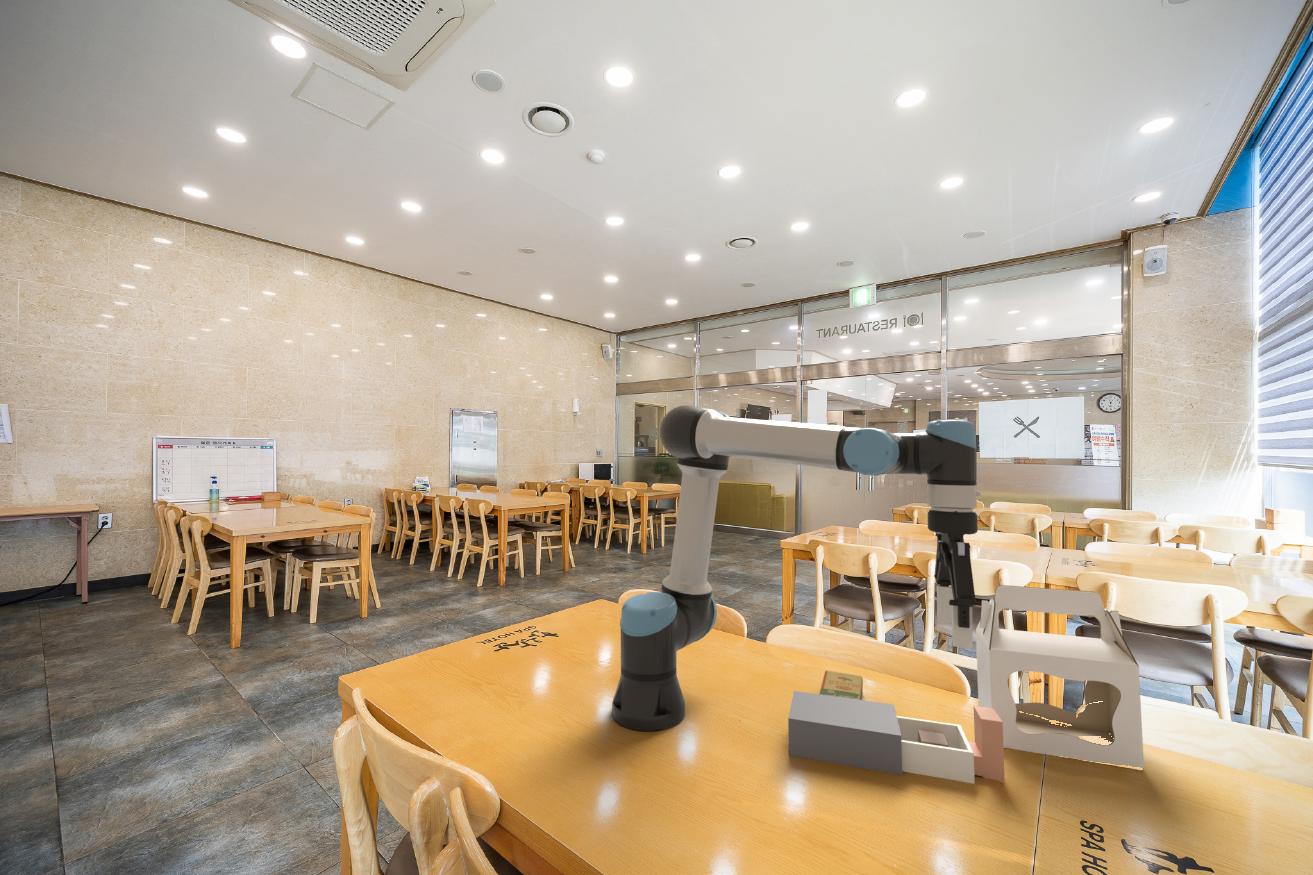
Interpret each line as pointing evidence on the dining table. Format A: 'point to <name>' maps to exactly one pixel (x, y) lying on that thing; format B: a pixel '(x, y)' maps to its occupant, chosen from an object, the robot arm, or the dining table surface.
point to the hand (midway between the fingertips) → (953, 633)
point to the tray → (955, 748)
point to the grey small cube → (932, 738)
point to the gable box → (1066, 658)
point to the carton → (842, 685)
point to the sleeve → (845, 732)
